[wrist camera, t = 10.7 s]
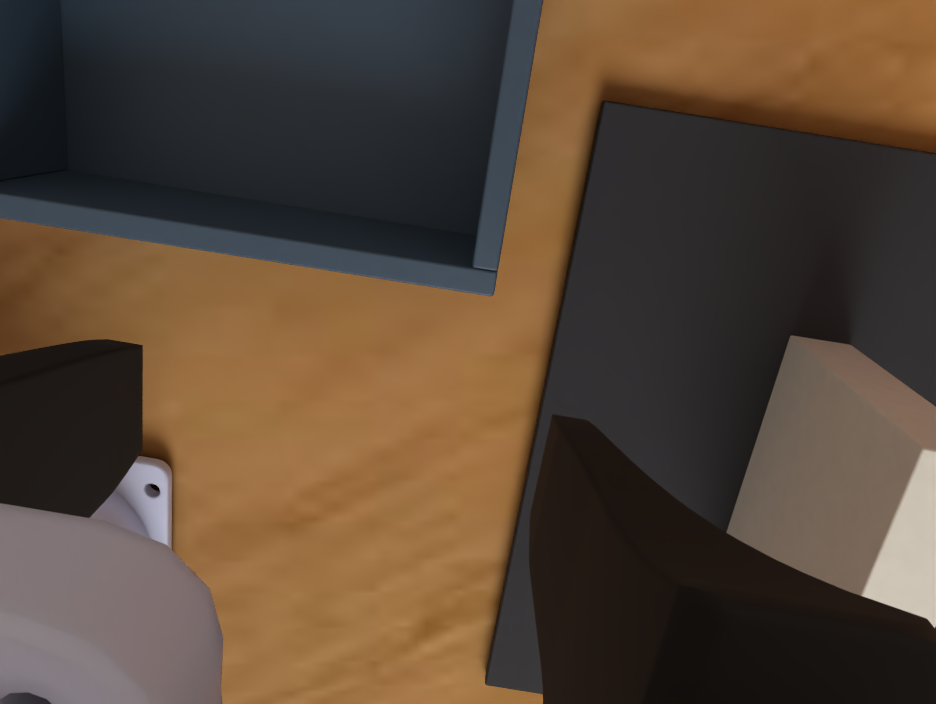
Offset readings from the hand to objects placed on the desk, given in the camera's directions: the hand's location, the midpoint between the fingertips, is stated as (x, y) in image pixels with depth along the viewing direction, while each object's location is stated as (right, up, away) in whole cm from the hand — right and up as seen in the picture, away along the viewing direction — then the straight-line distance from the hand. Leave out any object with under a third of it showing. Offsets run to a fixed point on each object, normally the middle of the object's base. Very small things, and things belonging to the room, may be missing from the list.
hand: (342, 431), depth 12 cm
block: (+12, -2, +10) cm, 15 cm away
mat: (+12, -2, +10) cm, 16 cm away
